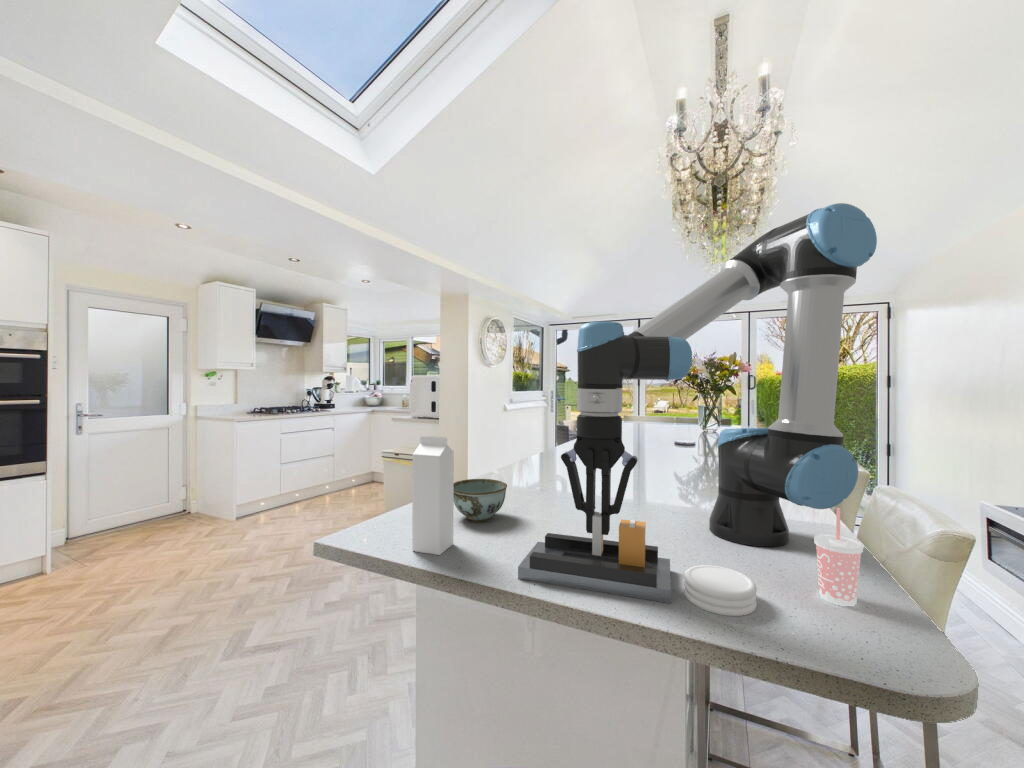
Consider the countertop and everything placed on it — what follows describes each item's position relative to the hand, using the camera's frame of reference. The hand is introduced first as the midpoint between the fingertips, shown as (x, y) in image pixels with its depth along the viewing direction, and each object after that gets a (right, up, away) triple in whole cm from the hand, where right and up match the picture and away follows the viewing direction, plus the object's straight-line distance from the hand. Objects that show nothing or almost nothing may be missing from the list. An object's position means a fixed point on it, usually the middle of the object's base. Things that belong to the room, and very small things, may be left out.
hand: (597, 552), depth 75 cm
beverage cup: (+35, -4, -8) cm, 36 cm away
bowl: (-23, -4, +30) cm, 38 cm away
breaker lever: (+5, -2, -2) cm, 6 cm away
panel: (0, -4, 0) cm, 4 cm away
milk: (-30, -4, +12) cm, 33 cm away
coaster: (+17, -5, -8) cm, 19 cm away
